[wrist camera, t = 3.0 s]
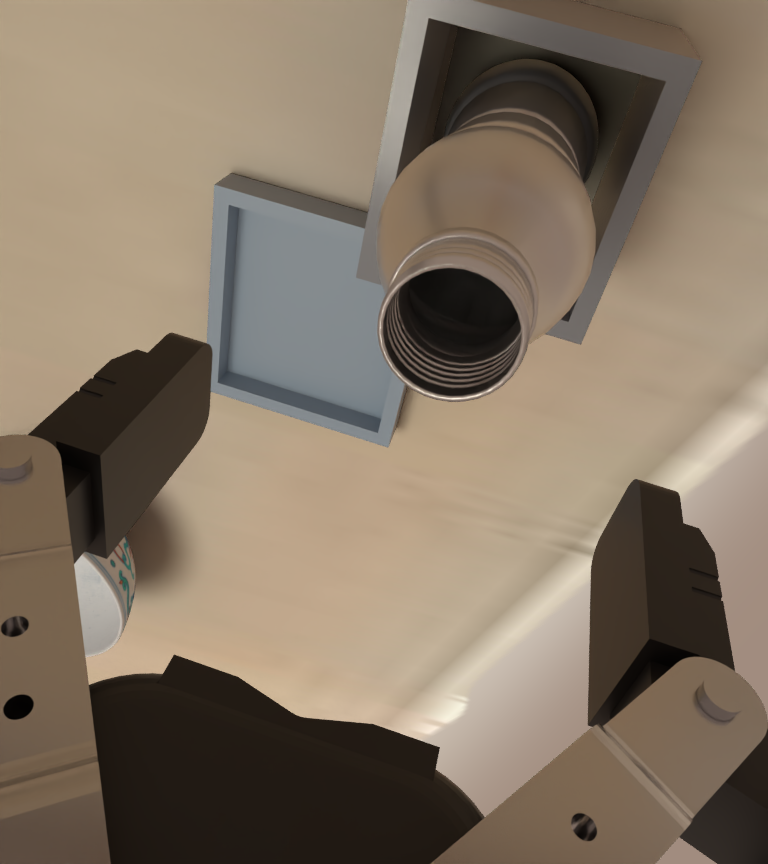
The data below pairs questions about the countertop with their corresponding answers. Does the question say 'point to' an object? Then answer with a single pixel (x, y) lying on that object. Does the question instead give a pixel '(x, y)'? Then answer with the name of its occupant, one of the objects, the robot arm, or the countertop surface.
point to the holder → (564, 33)
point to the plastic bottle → (488, 232)
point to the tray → (297, 311)
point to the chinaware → (105, 596)
